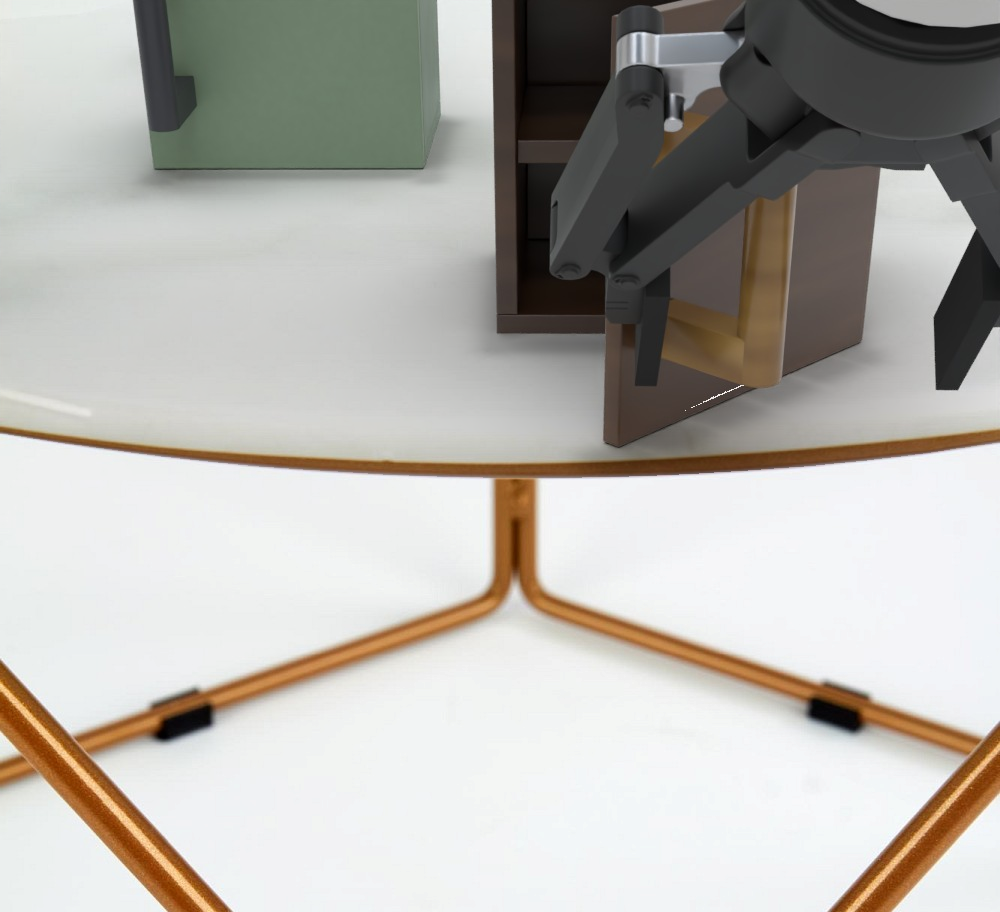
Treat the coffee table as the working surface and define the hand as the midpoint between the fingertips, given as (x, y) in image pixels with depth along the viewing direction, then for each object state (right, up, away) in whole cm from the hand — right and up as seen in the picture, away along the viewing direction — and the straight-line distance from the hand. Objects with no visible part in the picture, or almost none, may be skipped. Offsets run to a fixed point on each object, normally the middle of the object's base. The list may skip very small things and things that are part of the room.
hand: (795, 351), depth 59 cm
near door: (+1, -1, +6) cm, 6 cm away
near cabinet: (-3, +7, +17) cm, 19 cm away
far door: (-22, +17, +32) cm, 42 cm away
